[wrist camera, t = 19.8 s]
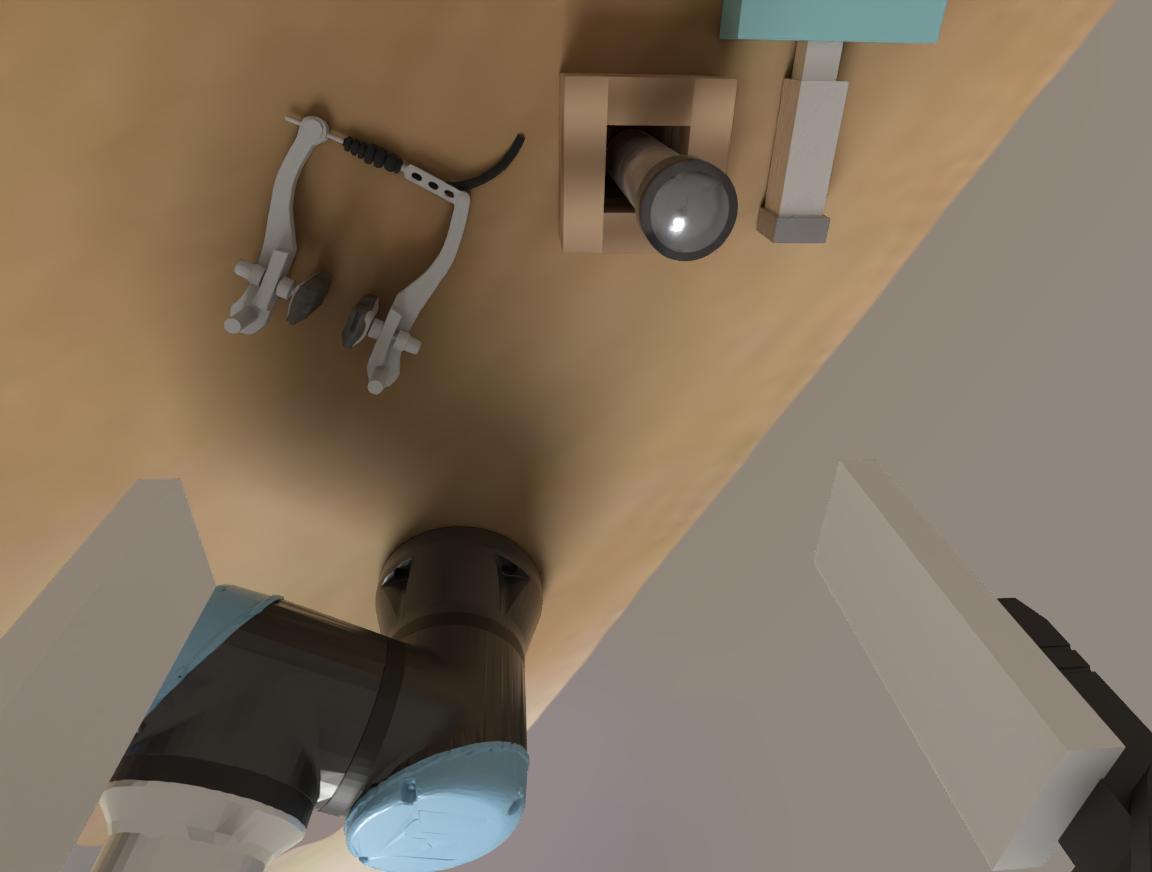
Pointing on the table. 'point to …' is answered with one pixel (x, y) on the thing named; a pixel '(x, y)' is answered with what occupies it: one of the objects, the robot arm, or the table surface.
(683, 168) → the metal flashlight
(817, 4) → the socket block
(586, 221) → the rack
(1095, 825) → the robot arm
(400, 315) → the bike brake
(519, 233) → the table surface
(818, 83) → the pale gray faceted bar
